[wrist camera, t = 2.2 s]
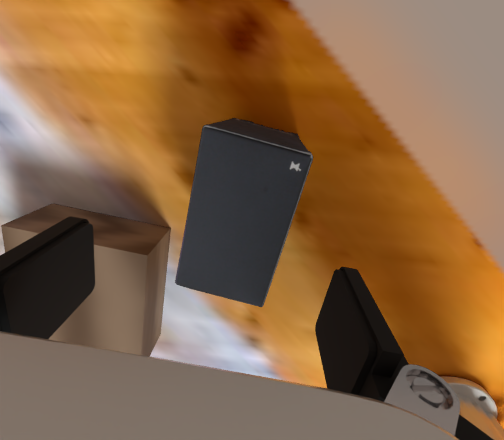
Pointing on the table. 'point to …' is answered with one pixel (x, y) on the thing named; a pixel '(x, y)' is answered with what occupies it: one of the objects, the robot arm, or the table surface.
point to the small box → (241, 209)
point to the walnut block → (110, 279)
